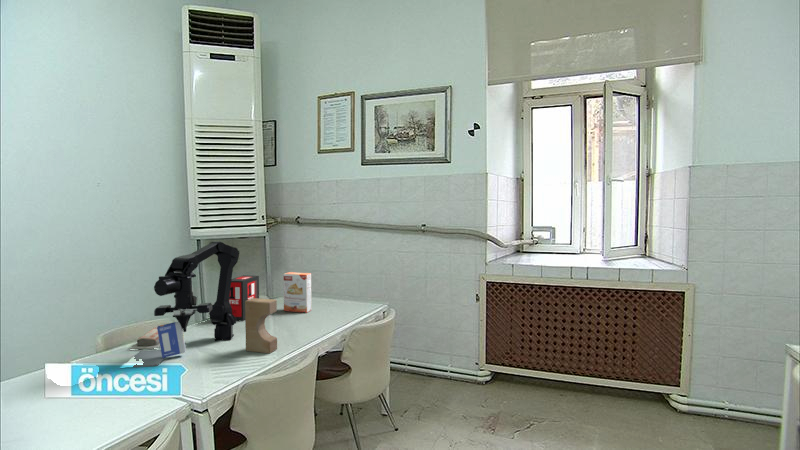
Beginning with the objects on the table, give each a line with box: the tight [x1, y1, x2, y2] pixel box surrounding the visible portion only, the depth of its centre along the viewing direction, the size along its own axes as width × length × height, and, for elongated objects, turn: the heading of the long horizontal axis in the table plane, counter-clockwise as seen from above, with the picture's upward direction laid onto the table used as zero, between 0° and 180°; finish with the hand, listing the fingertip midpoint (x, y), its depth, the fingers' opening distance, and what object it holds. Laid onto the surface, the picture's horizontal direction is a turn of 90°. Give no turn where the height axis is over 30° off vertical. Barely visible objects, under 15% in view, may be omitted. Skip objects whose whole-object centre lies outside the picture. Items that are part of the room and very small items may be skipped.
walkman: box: [157, 321, 187, 359], centre depth 150 cm, size 8×3×12 cm, turn 118°
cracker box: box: [283, 271, 312, 313], centre depth 219 cm, size 14×6×21 cm, turn 76°
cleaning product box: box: [229, 274, 260, 322], centre depth 208 cm, size 16×9×20 cm, turn 172°
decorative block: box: [244, 297, 278, 354], centre depth 158 cm, size 11×6×20 cm, turn 73°
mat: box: [133, 349, 167, 368], centre depth 149 cm, size 12×16×1 cm
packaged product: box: [129, 326, 160, 350], centre depth 167 cm, size 18×5×10 cm
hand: (184, 331), depth 151 cm, fingers closed
